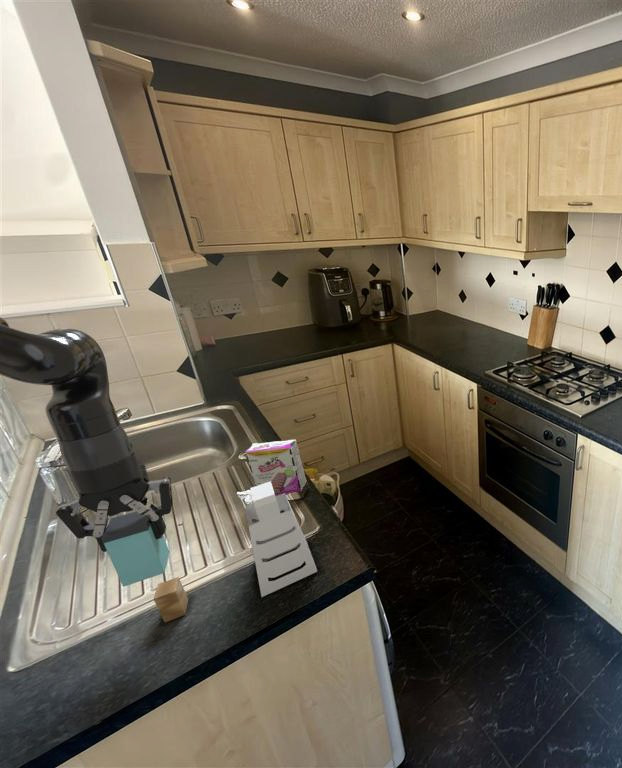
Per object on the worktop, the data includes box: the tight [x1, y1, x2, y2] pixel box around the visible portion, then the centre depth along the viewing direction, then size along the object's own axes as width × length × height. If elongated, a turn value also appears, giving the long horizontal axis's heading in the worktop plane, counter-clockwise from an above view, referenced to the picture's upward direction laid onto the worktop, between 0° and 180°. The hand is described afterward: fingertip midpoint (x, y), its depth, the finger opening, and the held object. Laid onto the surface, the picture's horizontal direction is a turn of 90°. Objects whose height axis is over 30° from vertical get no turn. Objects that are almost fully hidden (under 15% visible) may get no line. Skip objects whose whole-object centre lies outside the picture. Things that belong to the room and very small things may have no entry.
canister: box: [101, 511, 170, 588], centre depth 70 cm, size 6×11×11 cm
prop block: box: [153, 576, 189, 623], centre depth 77 cm, size 3×4×6 cm
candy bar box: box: [245, 439, 308, 496], centre depth 109 cm, size 11×5×16 cm, turn 100°
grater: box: [244, 481, 318, 598], centre depth 84 cm, size 10×10×20 cm
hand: (137, 542), depth 69 cm, fingers closed on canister, 5 cm apart
